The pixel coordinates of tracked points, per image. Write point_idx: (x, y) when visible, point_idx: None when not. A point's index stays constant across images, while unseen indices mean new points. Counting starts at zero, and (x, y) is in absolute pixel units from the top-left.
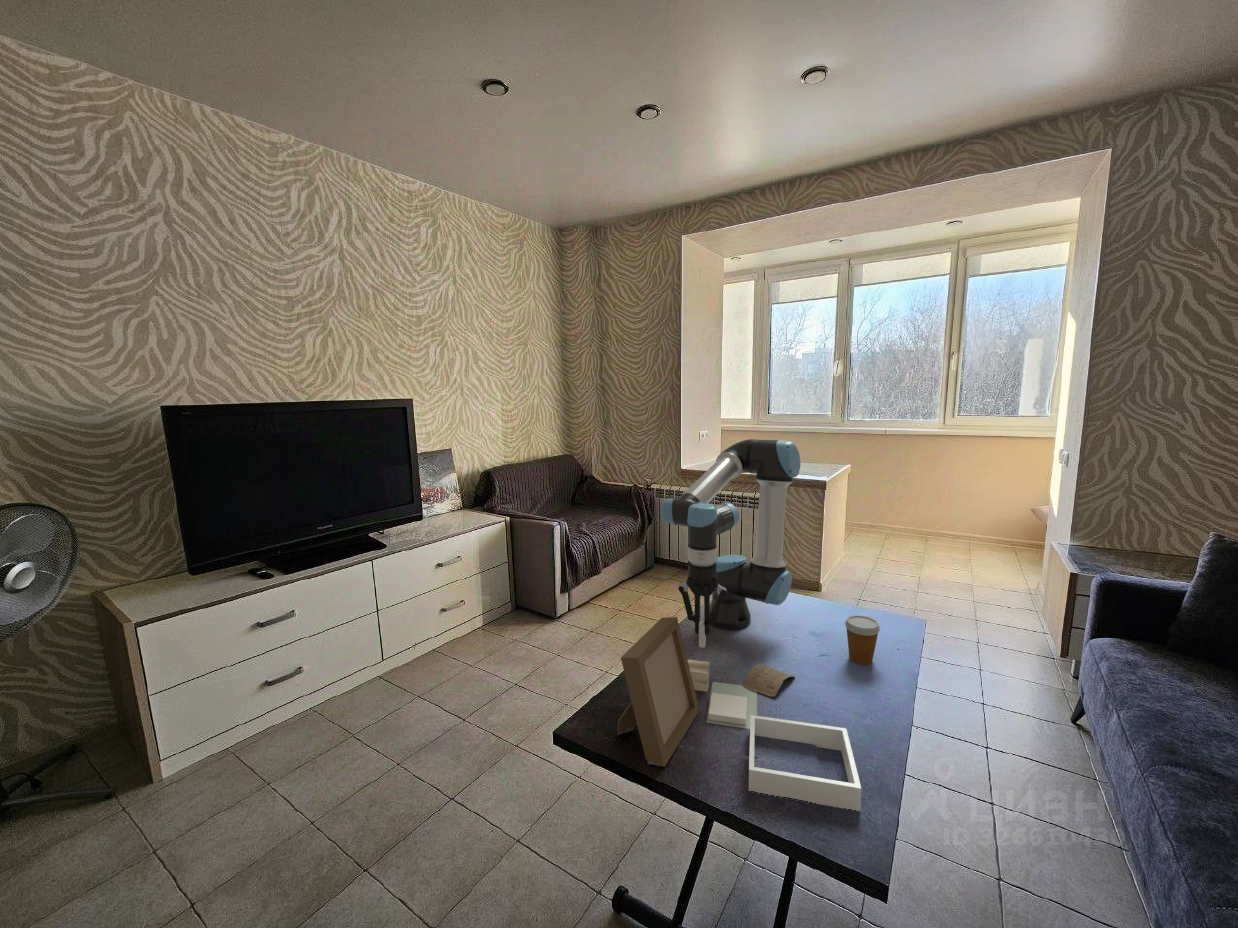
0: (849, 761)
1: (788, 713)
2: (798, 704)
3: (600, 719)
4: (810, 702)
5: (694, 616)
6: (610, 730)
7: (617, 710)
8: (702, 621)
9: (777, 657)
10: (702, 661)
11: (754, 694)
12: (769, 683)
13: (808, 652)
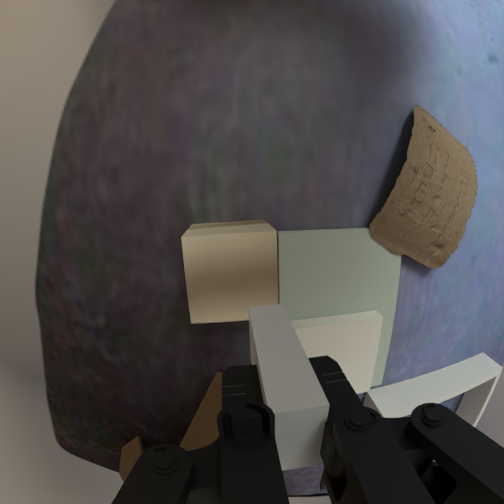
0: (473, 424)
1: (444, 301)
2: (465, 262)
3: (73, 418)
4: (481, 247)
5: (220, 501)
6: (105, 439)
7: (81, 395)
8: (297, 427)
9: (430, 58)
10: (246, 234)
11: (395, 264)
12: (438, 234)
13: (473, 44)
